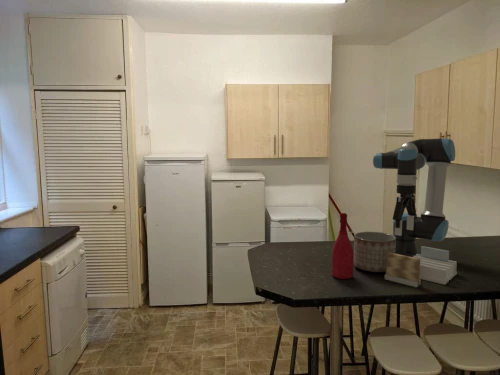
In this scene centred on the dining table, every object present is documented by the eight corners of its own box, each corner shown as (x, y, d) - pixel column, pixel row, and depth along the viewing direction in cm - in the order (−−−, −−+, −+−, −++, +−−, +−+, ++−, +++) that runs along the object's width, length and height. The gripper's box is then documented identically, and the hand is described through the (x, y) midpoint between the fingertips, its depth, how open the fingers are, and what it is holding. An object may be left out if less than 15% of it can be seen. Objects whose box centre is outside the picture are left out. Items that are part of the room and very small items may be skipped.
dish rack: (403, 274, 167) (404, 251, 165) (416, 265, 179) (417, 243, 178) (444, 284, 154) (446, 259, 153) (456, 273, 167) (457, 250, 166)
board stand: (384, 279, 161) (384, 274, 161) (388, 276, 165) (388, 272, 164) (416, 287, 152) (416, 282, 151) (420, 284, 155) (420, 279, 155)
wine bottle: (349, 281, 159) (351, 216, 155) (328, 277, 164) (329, 214, 161) (355, 274, 167) (357, 212, 164) (335, 271, 172) (336, 210, 169)
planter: (377, 278, 162) (378, 243, 160) (345, 266, 179) (346, 234, 177) (403, 270, 173) (404, 237, 171) (370, 259, 189) (371, 229, 187)
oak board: (385, 278, 162) (386, 253, 161) (387, 277, 164) (388, 252, 162) (417, 286, 153) (419, 259, 151) (419, 285, 154) (420, 258, 152)
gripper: (403, 187, 142) (401, 239, 144) (425, 182, 159) (422, 228, 162) (385, 186, 147) (383, 236, 149) (408, 181, 165) (406, 226, 167)
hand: (404, 232), depth 155 cm, fingers open, 13 cm apart
